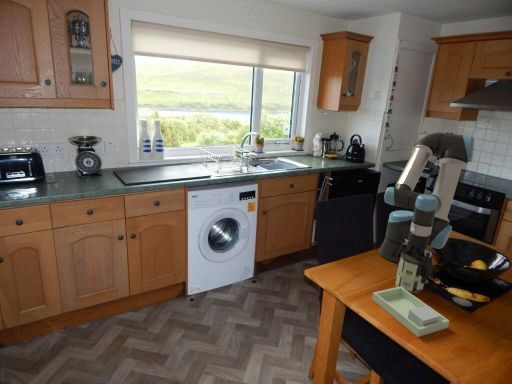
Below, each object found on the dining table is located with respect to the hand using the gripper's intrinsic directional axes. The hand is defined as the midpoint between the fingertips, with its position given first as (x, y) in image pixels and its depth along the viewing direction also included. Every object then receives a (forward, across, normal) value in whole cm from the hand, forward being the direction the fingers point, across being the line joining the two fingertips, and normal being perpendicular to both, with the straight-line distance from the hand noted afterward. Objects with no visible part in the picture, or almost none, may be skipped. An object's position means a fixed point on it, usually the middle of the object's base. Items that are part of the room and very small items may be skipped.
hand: (409, 282), depth 142 cm
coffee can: (+3, 0, 0) cm, 3 cm away
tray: (+2, +14, -15) cm, 21 cm away
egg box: (+2, +20, -15) cm, 25 cm away
